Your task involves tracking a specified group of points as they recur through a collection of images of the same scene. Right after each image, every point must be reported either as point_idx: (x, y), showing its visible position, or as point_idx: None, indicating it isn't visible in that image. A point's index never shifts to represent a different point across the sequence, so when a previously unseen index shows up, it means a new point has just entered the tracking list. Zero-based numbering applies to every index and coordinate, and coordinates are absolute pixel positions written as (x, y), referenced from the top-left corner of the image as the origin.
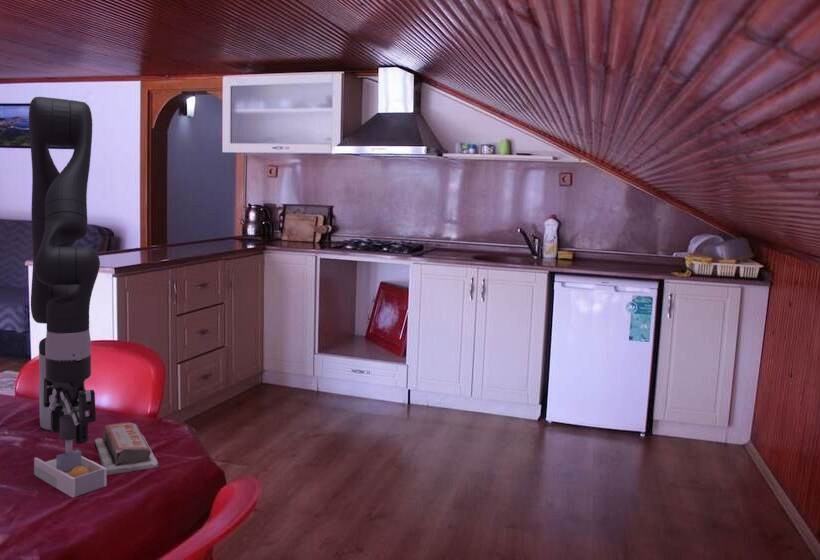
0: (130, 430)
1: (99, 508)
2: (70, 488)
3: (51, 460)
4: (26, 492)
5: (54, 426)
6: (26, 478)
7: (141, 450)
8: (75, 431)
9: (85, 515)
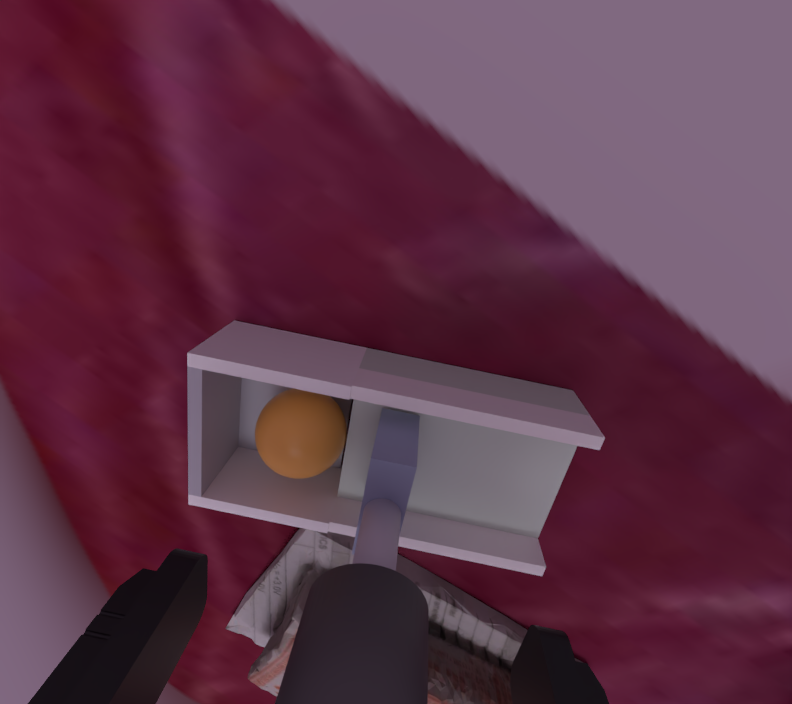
0: None
1: (67, 309)
2: (234, 337)
3: (556, 484)
4: (448, 254)
5: (544, 681)
6: (577, 352)
7: (256, 664)
8: (111, 654)
9: (44, 237)
